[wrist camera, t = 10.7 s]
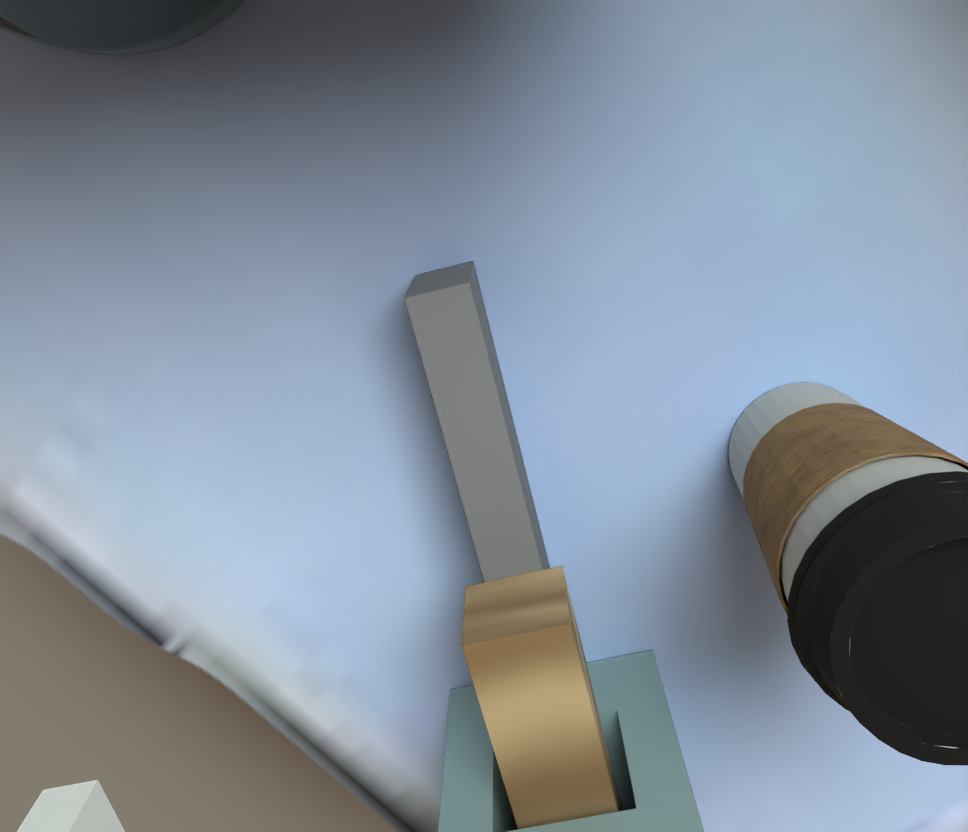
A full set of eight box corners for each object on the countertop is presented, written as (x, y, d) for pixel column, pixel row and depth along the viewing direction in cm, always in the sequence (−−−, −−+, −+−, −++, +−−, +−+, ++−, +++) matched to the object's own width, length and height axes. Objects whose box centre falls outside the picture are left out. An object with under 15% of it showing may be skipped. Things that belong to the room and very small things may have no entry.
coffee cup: (754, 564, 39) (896, 822, 25) (663, 419, 37) (762, 611, 23) (927, 472, 37) (1184, 693, 23) (842, 314, 35) (1070, 452, 21)
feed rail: (416, 275, 35) (404, 298, 31) (473, 260, 35) (469, 282, 30) (501, 587, 40) (502, 644, 35) (552, 576, 39) (558, 632, 35)
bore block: (450, 689, 42) (433, 881, 31) (652, 649, 41) (704, 834, 30) (489, 814, 44) (486, 1029, 34) (679, 779, 43) (736, 990, 33)
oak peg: (465, 586, 35) (462, 646, 31) (562, 565, 34) (570, 624, 30) (541, 842, 39) (546, 921, 36) (627, 827, 39) (641, 905, 35)
